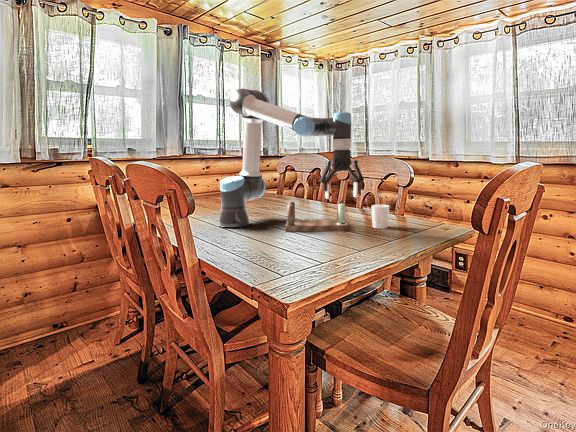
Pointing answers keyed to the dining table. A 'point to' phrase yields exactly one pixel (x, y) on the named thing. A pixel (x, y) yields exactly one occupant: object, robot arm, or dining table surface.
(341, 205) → the hinged leg
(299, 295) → the dining table surface
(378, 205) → the white cup
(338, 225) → the wooden peg stand
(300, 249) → the dining table surface
